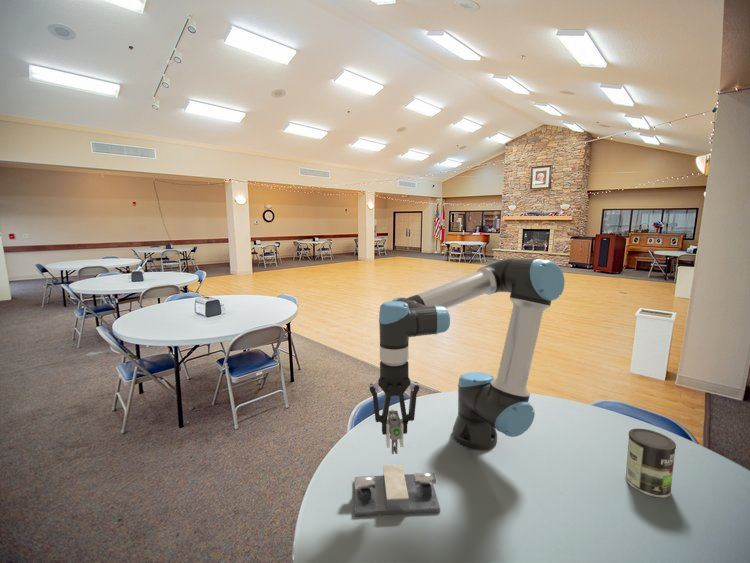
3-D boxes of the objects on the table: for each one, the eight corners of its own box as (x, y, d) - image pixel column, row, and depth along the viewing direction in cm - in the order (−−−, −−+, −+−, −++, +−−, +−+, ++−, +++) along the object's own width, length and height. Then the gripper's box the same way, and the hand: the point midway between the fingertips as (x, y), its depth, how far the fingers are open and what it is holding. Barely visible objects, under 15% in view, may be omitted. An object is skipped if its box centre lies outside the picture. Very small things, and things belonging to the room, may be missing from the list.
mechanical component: (391, 465, 88) (390, 429, 86) (387, 442, 98) (387, 409, 96) (402, 465, 88) (402, 429, 86) (397, 441, 98) (397, 408, 96)
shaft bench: (429, 477, 101) (429, 458, 100) (440, 512, 88) (440, 490, 87) (355, 480, 100) (354, 461, 99) (354, 516, 87) (354, 494, 86)
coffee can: (678, 489, 95) (683, 442, 93) (659, 503, 90) (664, 453, 88) (636, 468, 104) (640, 424, 102) (617, 479, 99) (621, 433, 97)
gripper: (421, 355, 93) (421, 435, 96) (363, 356, 93) (364, 437, 95) (427, 365, 86) (426, 451, 89) (363, 367, 85) (365, 454, 88)
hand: (394, 444), depth 92 cm, fingers closed on mechanical component, 3 cm apart
